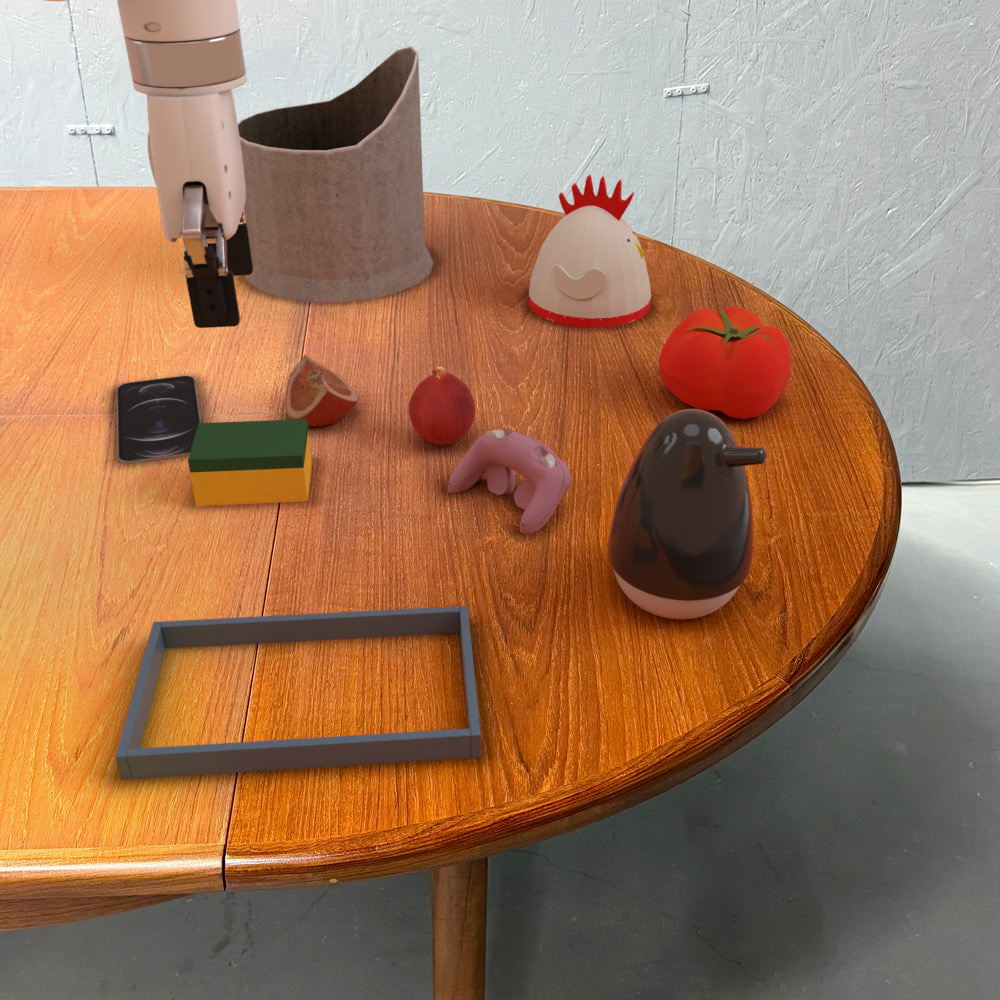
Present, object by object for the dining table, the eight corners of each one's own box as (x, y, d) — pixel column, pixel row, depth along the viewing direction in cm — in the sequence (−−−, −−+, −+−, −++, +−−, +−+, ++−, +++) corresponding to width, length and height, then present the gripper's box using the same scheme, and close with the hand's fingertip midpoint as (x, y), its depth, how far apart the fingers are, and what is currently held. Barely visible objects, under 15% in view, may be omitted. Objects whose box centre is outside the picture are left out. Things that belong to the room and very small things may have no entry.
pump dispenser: (698, 663, 73) (726, 472, 64) (576, 599, 78) (586, 417, 70) (772, 592, 79) (806, 411, 71) (654, 538, 85) (672, 364, 77)
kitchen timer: (634, 339, 116) (645, 202, 108) (513, 322, 119) (514, 188, 111) (660, 292, 127) (671, 164, 119) (548, 278, 130) (551, 153, 122)
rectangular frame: (123, 786, 63) (115, 757, 62) (159, 649, 74) (153, 621, 72) (481, 764, 65) (480, 734, 64) (468, 633, 75) (467, 605, 74)
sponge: (196, 512, 88) (187, 459, 85) (207, 473, 93) (198, 422, 90) (308, 507, 88) (302, 455, 86) (312, 469, 93) (307, 418, 91)
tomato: (637, 380, 108) (644, 300, 103) (754, 369, 110) (765, 290, 105) (681, 442, 98) (690, 357, 93) (808, 429, 100) (824, 345, 95)
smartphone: (117, 463, 92) (115, 383, 104) (119, 471, 93) (117, 392, 105) (205, 450, 94) (194, 374, 106) (207, 459, 95) (196, 382, 107)
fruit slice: (278, 405, 103) (272, 357, 100) (346, 393, 105) (342, 346, 102) (298, 446, 97) (292, 397, 94) (370, 432, 99) (366, 384, 96)
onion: (433, 424, 100) (431, 346, 96) (487, 440, 98) (487, 360, 93) (398, 452, 96) (394, 371, 91) (453, 469, 93) (451, 387, 89)
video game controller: (559, 540, 87) (588, 460, 86) (524, 540, 84) (554, 457, 82) (474, 493, 93) (500, 418, 91) (438, 491, 89) (465, 412, 88)
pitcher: (452, 295, 126) (447, 70, 112) (173, 324, 118) (131, 87, 105) (413, 230, 144) (405, 30, 130) (169, 252, 137) (133, 42, 123)
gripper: (152, 37, 79) (192, 259, 89) (102, 93, 65) (156, 351, 74) (255, 34, 80) (284, 255, 89) (228, 89, 65) (265, 345, 75)
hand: (226, 298), depth 82 cm, fingers open, 9 cm apart
